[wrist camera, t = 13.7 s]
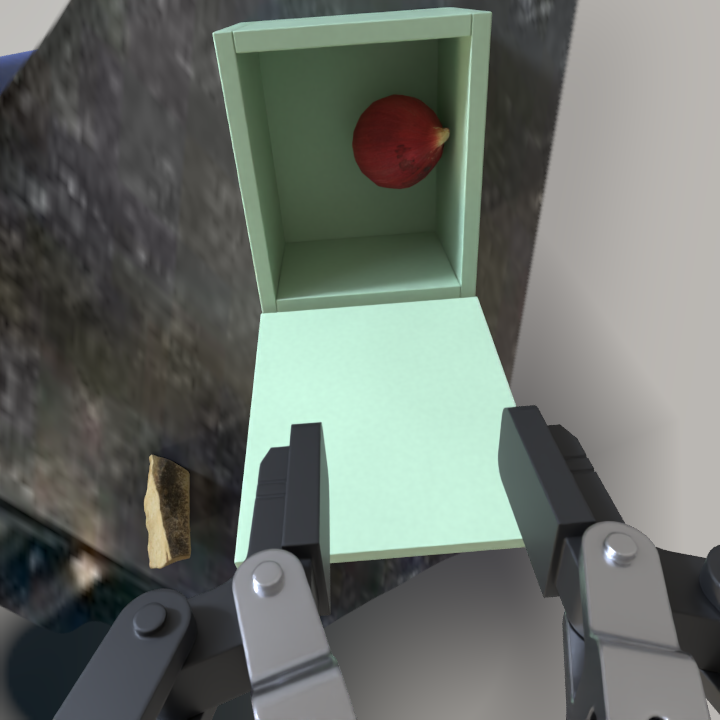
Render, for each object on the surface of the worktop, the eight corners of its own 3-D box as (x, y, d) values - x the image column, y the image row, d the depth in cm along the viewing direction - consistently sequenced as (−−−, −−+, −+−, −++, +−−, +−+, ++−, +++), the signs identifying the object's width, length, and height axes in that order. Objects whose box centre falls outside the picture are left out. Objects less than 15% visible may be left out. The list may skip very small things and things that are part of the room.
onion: (387, 190, 42) (472, 190, 37) (327, 186, 39) (411, 186, 33) (391, 107, 41) (480, 94, 35) (329, 95, 37) (417, 78, 31)
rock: (196, 561, 63) (241, 522, 58) (132, 605, 56) (177, 564, 51) (144, 483, 65) (183, 438, 60) (76, 516, 58) (113, 468, 53)
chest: (240, 22, 37) (212, 32, 28) (451, 6, 37) (492, 11, 28) (275, 250, 46) (262, 314, 37) (445, 237, 46) (475, 298, 37)
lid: (233, 562, 24) (237, 571, 24) (562, 535, 24) (558, 544, 24) (261, 313, 36) (263, 323, 36) (477, 296, 36) (476, 306, 37)
